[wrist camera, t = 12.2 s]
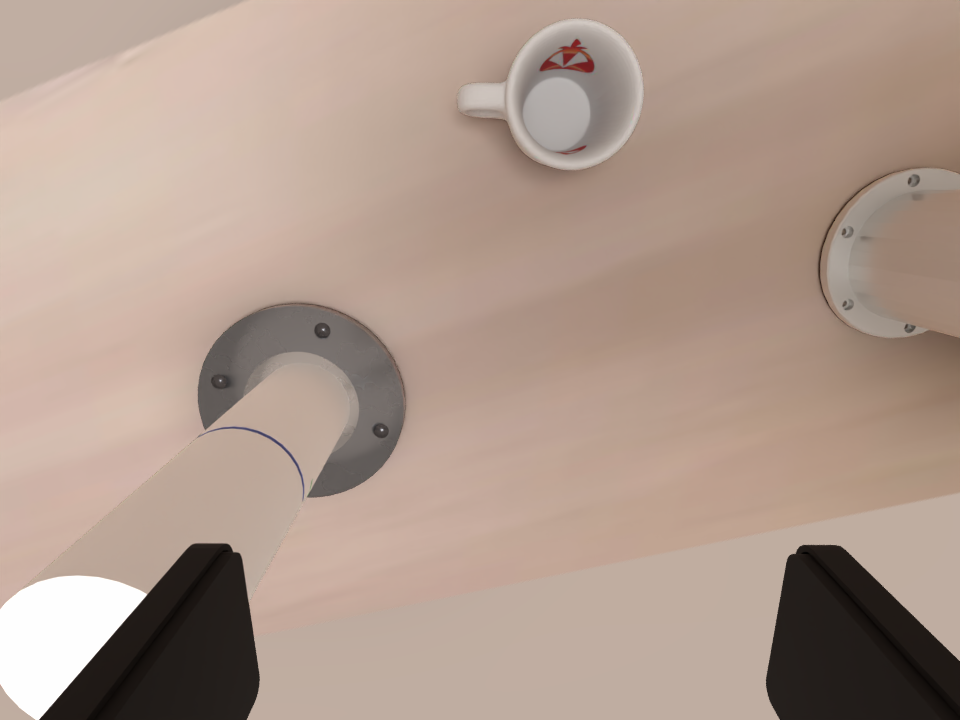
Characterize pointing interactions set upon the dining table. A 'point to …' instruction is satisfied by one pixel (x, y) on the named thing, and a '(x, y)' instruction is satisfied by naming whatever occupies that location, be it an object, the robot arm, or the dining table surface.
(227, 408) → the flange plate
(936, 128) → the dining table surface
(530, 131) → the cup
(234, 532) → the cylindrical container
